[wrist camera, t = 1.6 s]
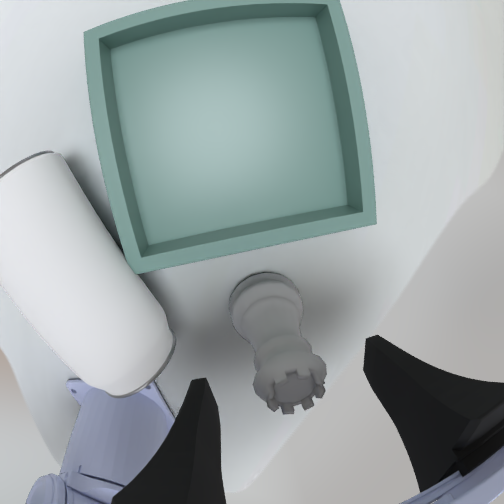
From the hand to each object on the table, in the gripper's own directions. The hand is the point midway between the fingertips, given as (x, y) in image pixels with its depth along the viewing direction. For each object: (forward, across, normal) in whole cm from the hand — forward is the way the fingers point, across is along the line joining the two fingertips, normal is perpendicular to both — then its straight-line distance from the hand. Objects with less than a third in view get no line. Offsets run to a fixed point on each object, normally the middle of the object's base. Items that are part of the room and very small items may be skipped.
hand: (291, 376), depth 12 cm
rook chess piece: (+7, 0, 0) cm, 7 cm away
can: (+3, +12, -11) cm, 17 cm away
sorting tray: (+7, 0, -11) cm, 13 cm away
